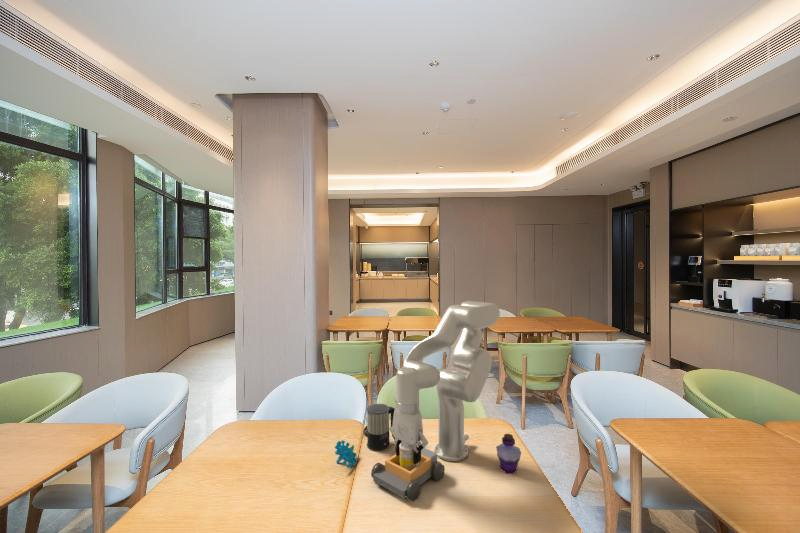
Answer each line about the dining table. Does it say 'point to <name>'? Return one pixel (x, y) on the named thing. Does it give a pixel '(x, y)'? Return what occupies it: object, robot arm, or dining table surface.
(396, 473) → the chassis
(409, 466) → the supplement bottle
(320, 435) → the dining table surface
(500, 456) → the potion bottle
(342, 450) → the gear
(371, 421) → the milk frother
